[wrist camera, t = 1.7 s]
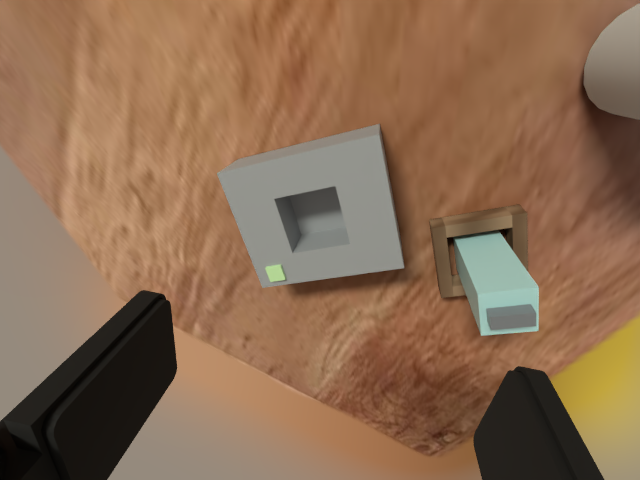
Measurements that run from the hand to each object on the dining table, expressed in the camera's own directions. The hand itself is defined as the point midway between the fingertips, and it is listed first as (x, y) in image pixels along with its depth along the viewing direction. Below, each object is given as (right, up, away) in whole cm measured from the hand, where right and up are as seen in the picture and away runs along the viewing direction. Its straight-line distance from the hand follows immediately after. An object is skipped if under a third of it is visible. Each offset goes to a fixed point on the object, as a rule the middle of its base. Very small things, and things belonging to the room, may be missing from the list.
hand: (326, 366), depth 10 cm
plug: (+15, +3, +25) cm, 29 cm away
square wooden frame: (+15, +3, +25) cm, 29 cm away
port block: (0, +7, +25) cm, 26 cm away
